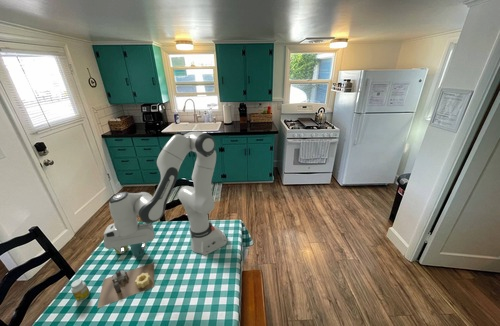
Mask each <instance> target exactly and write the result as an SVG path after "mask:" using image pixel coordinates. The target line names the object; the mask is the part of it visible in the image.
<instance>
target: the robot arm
mask: <svg viewBox="0 0 500 326" xmlns="http://www.w3.org/2000/svg"><path fill="white" fill-rule="evenodd" d="M215 141H216V140H215V139H214V137H213V136H212V135H210V134H208V133H204V132H202V131H193V130H191V131H190V130H189V131H185V133H183V134H180V133H178V134H177V133H176V134H174V135H172V136H171V138H169V140H168V141H167V142H166V143H165V144H164V146H163V147H162V149H161V151H160V153H159V154H158V157H157V159H156V166H157V168H158V171H159V173H160V181H159V183H158V186H157V188H156V189H155V192H154V193H153V195H152V194H150V193H149V192H147V191H139V192H136V193H135V192H127V191H122V192H119V193H115V194H114V195H113V196H112V197H111V198H110V200H109V202H108V203H109V204H108V205H109V206H108V207H109V211H110V215H111V219H112V220H113V223H111V224H109V225H107V227H105V228H106V229H105V230H104V232H103V237H104V238H103V244H104V248H105V249H106V250H110V249H114V248H116V250H118V251H119V252H120V254H119V255H121V253H122V254H124V253H125V252H124V251H125V250H124V248H121V247H122V246H130V245H132V244H137V243H143V244H142V249H144V250H146V249H147V244H148V242H152V241H153V240H154V239H155V231H154V225H153V223H156V222H157V221H159V220H160V219H161V218H162V217H163V216H164V215H165V210H166V206H167V203H168V200H169V198H170V196H171V193H172V191H173V189H174V187H175V184H176V182H177V180H178V177H179V170H180V169H181V165H182V164H183V161H184V160H185V158H186V156H187V155H188V154H189V153H190V152H193V153H195V154H196V159H195V162H194V167H193V170H192V174H191V181H192V182H193V186H189V185H184V186H182V187H181V188H180V189H179V190H178V193H177V197H178V199H179V201H180V203H181V204H182V206H183V208H184V210H185V213H186V215H187V218H188V222H189V233H190V237H191V242H190V243H191V244H190V249H191V251H192V252H194V253H196V254H201V255H202V256H208V255H209V254H211V253H213V252H215V251H216V250H218V249H221V248H222V247H224V246H226V245H228V244H227V243H228V239H227V236H226V234H225V232H223V230H221V229H220V228H219V227H218V226H216V225H215V226H214V225H213V223H212V222H211V221H210V220H209V214H210V213H211V212H212V211H213V210H214V208H215V205H216V203H215V199H214V197H213V193H212V180H213V176H214V172H215V167H216V164H217V163H216V162H217V151H216V150H215V149H216V148H215V147H216V142H215ZM138 217H139V218H140V220H141V221H142V222H143V223H139V221H138Z"/></svg>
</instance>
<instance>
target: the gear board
mask: <svg viewBox="0 0 500 326" xmlns="http://www.w3.org/2000/svg"><path fill="white" fill-rule="evenodd" d="M142 273H148V274H149V275H150V279H151V281H150V282H149V284H148V285H146V286H145V287H144V288H138V287H137V286H136V283H135V280H136V279H137V276H139V275H141V274H142ZM144 280H145V279H144ZM142 281H143V280H142ZM152 288H155V262H151V263H148V264H145V265H142V266H139V267H136V268H133V269H130V270H128V271H127V270H124V269H121V270H117V271H116V272H115V273H114V274H112V276H110V277H106V278H103V282H102V286H101V290H100V294H99V299H98V303H97V309H100V308H102V307H104V306H107V305H108V306H109V305H110V304H113V303H115V302H119V301H122V300H123V299H126V298H129V297H131V296H134V295H136V294H139V293H142V292H145V291H147V290H149V289H152Z"/></svg>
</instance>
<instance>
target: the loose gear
mask: <svg viewBox="0 0 500 326" xmlns="http://www.w3.org/2000/svg"><path fill="white" fill-rule="evenodd" d="M144 279H145V280H144ZM142 280H143V281H142ZM150 281H151V279H150V275H149V274H148V273H142V274H141V275H139V276H137V279H136V280H135V283H136V286H137V287H138V288H144V287H145V286H146V285H148V284H149V282H150Z"/></svg>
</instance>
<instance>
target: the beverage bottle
mask: <svg viewBox="0 0 500 326" xmlns="http://www.w3.org/2000/svg"><path fill="white" fill-rule="evenodd" d="M142 244H144V243H137V244H132V245H129V247H130V250H131V253H132V255H133V257H134V258H140V257H142V256H144V254H145V251H146V249H142Z"/></svg>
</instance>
